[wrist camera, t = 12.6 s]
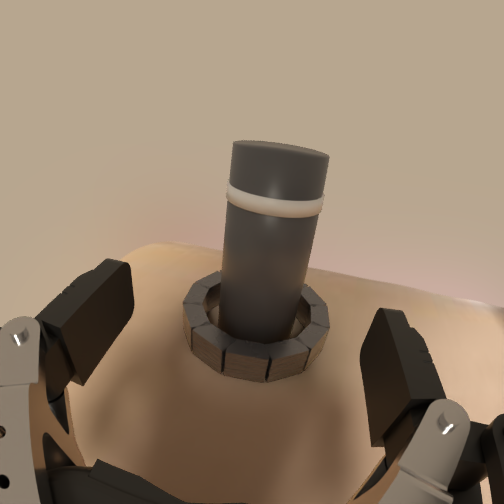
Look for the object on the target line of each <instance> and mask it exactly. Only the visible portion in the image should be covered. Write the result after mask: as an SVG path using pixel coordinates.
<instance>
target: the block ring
mask: <svg viewBox="0 0 504 504" xmlns="http://www.w3.org/2000/svg"><path fill="white" fill-rule="evenodd" d="M221 274H222V270H220V272H218V271H217V272H215V273H212V274H210V275H208V276H206V277H204V278H202V279H200V280H198V281H196V282H195V283H193V285H192V287H191V289H190V291H189V292H188V294H187V296H186V298H185V299H184V301H183V327H184V331H185V334H186V337H187V340H188V343H189V346H190V349H191V351H193V354H194V355H196V356H197V357H198V358H199V359H201V360H202V361H203V362H205V363H206V364H208V365H209V366H210V367H212V368H213V369H214V370H216V371H217V372H218V373H220V374H221V373H223V372H224V376H229V377H234V378H240V379H245V380H251V381H257V382H264V378H265V380H266V381H267V382H271V381H275V380H278V379H282V378H285V377H289V376H293V375H296V374H299V373H302V371H305V370H306V368H307V367H308V366H309V365H310V364H311V363H312V362H313V360H314V359H315V358H316V357H317V356H318V355H319V353H320V352H321V350H322V348H323V345H324V342H325V339H326V336H327V334H328V331H329V328H330V326H329V317H328V308H327V306H326V303H325V302H324V301H323V300H322V299H321V298H320V297H319V296H318V295H317V294H316V293H315V292H314V291H313V289H312V288H311V287H310V286H309V287H307V286H308V285H306V284H303V288H302V292H301V296H300V300H299V304H298V309H297V312H296V317H297V319H298V320H299V321H300V322H301V324H302V325H303V326H304V330H303V331H302V332H301V333H300V334H299V335H298V336H297V337H296V338H292V339H288V340H283V341H279V342H274V343H270V344H263V343H257V342H252V341H246V340H240V339H235V338H233V337H231V336H230V335H228V334H226V333H225V332H223V331H222V330H220V329H219V328H217V327H216V326H214V325H213V324H211V323H210V322H209V320H208V317H207V313H208V311H209V310H211V309H212V308H214V307H216V306H217V305H219V303H220V288H221Z"/></svg>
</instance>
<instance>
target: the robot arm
mask: <svg viewBox="0 0 504 504" xmlns="http://www.w3.org/2000/svg"><path fill="white" fill-rule="evenodd" d="M133 310H134V295H133V286H132V276H131V268H130V265H129V264H128V263H127V262H122V261H118V260H113V259H105V260H104V261H103V262H102V263H101V264H100V265H98V266H97V267H96V268H95V269H94V270H91V271H88V272H86V273H84V274H82V275H80V276H79V277H77V278H76V279H75V280H74V281H73V282H72V283H71V284H70V286H68V287H66V288H65V289H64V290H63V291H62V294H61V293H60V294H59V295H58V296H57V297H56V298H55V299H54V300H53V301H52V302H50V303H49V304H48V305H47V307H46V308H44V309H43V310H42V311H41V312H40V313H39V314H38V315H37V316H36V317H35V318H32V317H26V316H24V317H17V318H14V319H12V320H10V321H9V322H7V323H6V324H5V325H4V326H3V327H0V504H203V503H187V502H184V501H181V500H179V499H178V498H176V497H174V496H172V495H170V494H168V493H167V492H165V491H163V490H161V489H160V488H158V487H156V486H155V485H153V484H151V483H150V482H148V481H146V480H145V479H143V478H142V477H140V476H138V475H135V474H132V473H130V472H127V471H125V470H122V469H120V468H117V467H115V466H112V465H110V464H108V463H106V462H103V461H101V460H99V459H97V460H96V462H95V464H94V466H93V467H87V466H86V465H85V462H84V459H83V456H82V454H81V452H80V450H79V448H78V445H77V443H76V439H75V434H74V428H73V422H72V416H71V409H70V401H69V393H68V389H67V387H66V386H67V385H68V383H69V382H70V381H73V382H75V383H77V384H79V385H81V386H84V384H85V383H86V381H87V380H88V378H89V377H90V375H91V374H92V372H93V371H94V369H95V368H96V367H97V365H98V364H99V362H100V361H101V359H102V358H103V356H104V355H105V354H106V352H107V351H108V349H109V348H110V346H111V345H112V344H113V342H114V341H115V339H116V338H117V337H118V335H119V334H120V332H121V331H122V330H123V328H124V327H125V325H126V324H127V323H128V321H129V320H130V318H131V316H132V314H133ZM428 352H429V350H428V348H427V346H426V343H425V341H424V339H423V338H422V336H421V335H420V334H419V333H418V332H417V331H416V330H415V329H414V328H411V327H410V326H409V324H408V321H407V319H406V317H405V314H404V312H403V311H401V310H393V309H386V308H379V309H378V310H377V312H376V314H375V317H374V319H373V321H372V324H371V326H370V328H369V331H368V333H367V335H366V338H365V340H364V342H363V344H362V347H361V352H360V366H361V372H362V379H363V385H364V392H365V399H366V406H367V414H368V422H369V431H370V440H371V447H385V455H384V456H383V457H382V458H381V459H380V461H379V462H378V464H377V465H376V466H375V468H374V469H373V471H372V472H371V473H370V475H369V476H368V477H367V479H366V480H365V481H364V482H363V484H362V485H361V486H360V488H359V489H358V490H357V491H356V493H355V494H354V495H353V496H352V497H351V499H350V500H349V501H348V502H347V503H346V504H483V502H482V494H481V487H480V482H481V481H482V480H484V479H485V478H486V477H488V479H489V484H490V491H491V497H492V504H504V414H501V415H499V416H497V417H496V418H495V419H494V420H493V421H492V422H491V423H490V425H486V424H481V423H477V422H473V421H470V419H469V416H468V414H467V413H466V411H465V410H464V408H463V407H462V406H460V405H459V404H458V403H456V402H454V401H452V400H449V399H447V398H446V395H445V392H444V390H443V387H442V384H441V381H440V379H439V376H438V373H437V371H436V368H435V365H434V363H432V362H433V360H432V358H431V355H430V353H428ZM224 504H246V503H224Z"/></svg>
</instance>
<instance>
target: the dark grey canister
mask: <svg viewBox="0 0 504 504" xmlns="http://www.w3.org/2000/svg"><path fill="white" fill-rule="evenodd" d="M328 162H329V155H327V154H325V153H322V152H319V151H316V150H312V149H308V148H303V147H299V146H293V145H288V144H282V143H275V142H265V141H235V142H233V150H232V160H231V170H230V179H228V182H227V193H226V198H227V200H228V201H227V212H226V224H225V237H224V248H223V261H222V274H221V288H220V303H219V319H218V328H219V329H220V330H222V331H223V332H225V333H226V334H228V335H230V336H231V337H233V338H235V339H240V340H246V341H252V342H257V343H263V344H270V343H274V342H279V341H283V340H288V339H290V336H291V332H292V328H293V324H294V320H295V316H296V312H297V309H298V304H299V300H300V296H301V292H302V288H303V284H304V280H305V275H306V271H307V267H308V262H309V258H310V253H311V249H312V244H313V239H314V235H315V230H316V225H317V220H318V215H319V213H320V212H321V210H322V205H323V200H324V193H323V190H324V185H325V179H326V173H327V168H328Z"/></svg>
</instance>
